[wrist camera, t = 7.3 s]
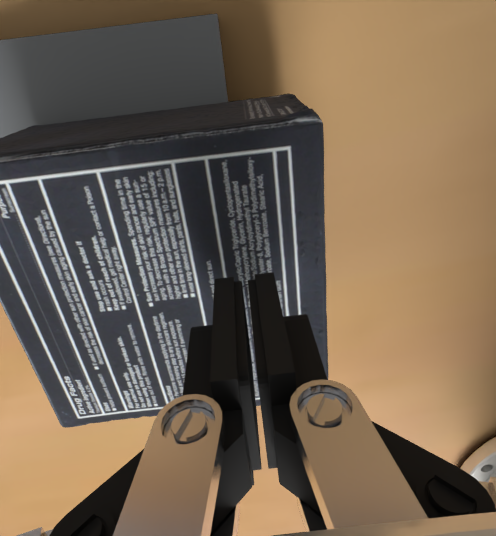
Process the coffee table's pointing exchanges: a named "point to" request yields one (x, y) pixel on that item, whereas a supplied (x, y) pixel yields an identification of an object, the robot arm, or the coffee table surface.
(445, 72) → the coffee table surface
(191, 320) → the small box
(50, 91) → the rubber pad
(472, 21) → the coffee table surface
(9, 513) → the coffee table surface
